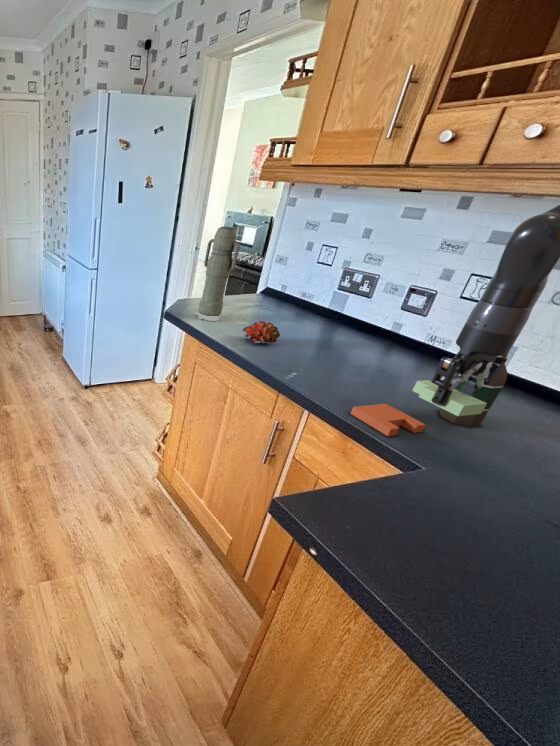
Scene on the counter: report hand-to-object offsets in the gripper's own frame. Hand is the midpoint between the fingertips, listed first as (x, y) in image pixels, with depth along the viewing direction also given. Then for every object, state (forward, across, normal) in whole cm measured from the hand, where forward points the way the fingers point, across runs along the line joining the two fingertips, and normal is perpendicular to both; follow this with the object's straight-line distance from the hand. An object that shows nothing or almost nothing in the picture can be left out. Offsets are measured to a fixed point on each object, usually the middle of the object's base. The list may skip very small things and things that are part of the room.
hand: (449, 402), depth 86 cm
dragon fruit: (+12, +4, +62) cm, 63 cm away
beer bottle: (+11, +20, +8) cm, 24 cm away
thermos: (+12, +2, +90) cm, 91 cm away
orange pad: (+11, 0, +10) cm, 15 cm away
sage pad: (+1, 0, +1) cm, 1 cm away
